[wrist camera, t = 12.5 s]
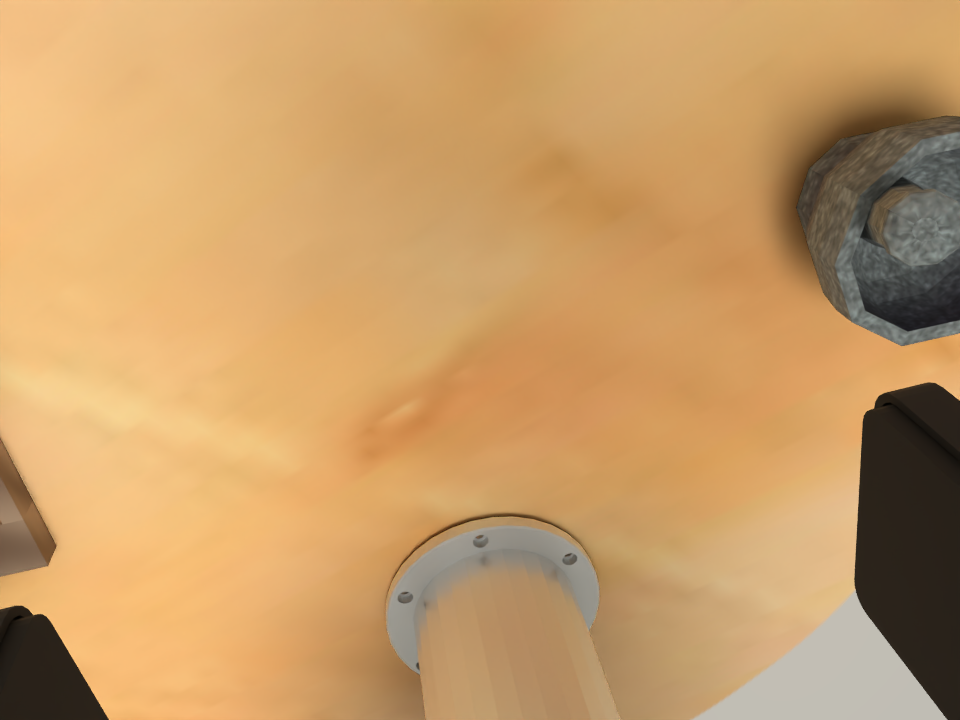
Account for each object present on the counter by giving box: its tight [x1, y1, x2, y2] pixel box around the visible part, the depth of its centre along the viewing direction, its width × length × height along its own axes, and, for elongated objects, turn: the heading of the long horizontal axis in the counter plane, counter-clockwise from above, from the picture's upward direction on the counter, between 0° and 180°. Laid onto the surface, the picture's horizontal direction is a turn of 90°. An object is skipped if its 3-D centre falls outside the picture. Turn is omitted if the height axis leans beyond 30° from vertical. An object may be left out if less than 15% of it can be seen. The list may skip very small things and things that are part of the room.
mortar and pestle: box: [796, 116, 960, 346], centre depth 37 cm, size 11×9×12 cm
